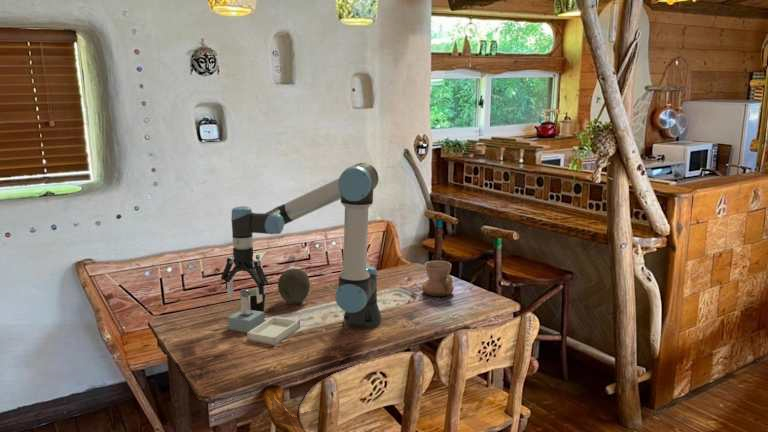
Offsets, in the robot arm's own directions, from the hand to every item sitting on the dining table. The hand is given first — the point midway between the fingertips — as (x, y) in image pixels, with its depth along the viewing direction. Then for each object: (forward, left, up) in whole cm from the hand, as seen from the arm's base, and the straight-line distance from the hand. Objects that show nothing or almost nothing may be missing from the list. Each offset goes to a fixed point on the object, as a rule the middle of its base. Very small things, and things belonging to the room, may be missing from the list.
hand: (245, 299), depth 231 cm
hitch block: (0, 0, -11) cm, 11 cm away
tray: (-14, +2, -11) cm, 18 cm away
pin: (0, 0, -11) cm, 11 cm away
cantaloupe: (-3, -31, -11) cm, 33 cm away
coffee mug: (+4, -13, -11) cm, 18 cm away
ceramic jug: (-58, -66, -11) cm, 89 cm away
